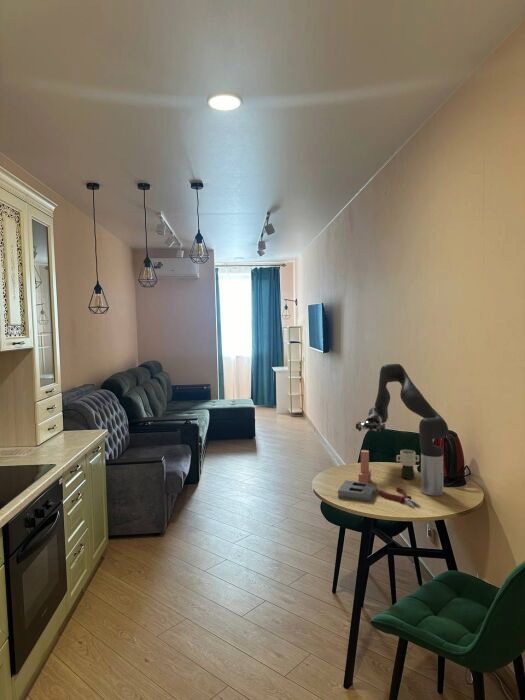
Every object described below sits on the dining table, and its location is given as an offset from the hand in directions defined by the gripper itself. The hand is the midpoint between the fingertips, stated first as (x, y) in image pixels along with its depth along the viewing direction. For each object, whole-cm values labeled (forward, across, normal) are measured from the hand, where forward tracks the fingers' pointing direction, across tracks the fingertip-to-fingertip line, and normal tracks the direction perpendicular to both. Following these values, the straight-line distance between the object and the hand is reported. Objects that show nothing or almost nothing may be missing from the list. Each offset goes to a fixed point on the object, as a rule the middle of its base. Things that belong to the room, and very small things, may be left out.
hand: (368, 430), depth 226 cm
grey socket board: (+27, 0, +22) cm, 35 cm away
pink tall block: (+11, 0, +22) cm, 25 cm away
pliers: (+28, +17, +22) cm, 40 cm away
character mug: (-2, +19, +23) cm, 30 cm away
